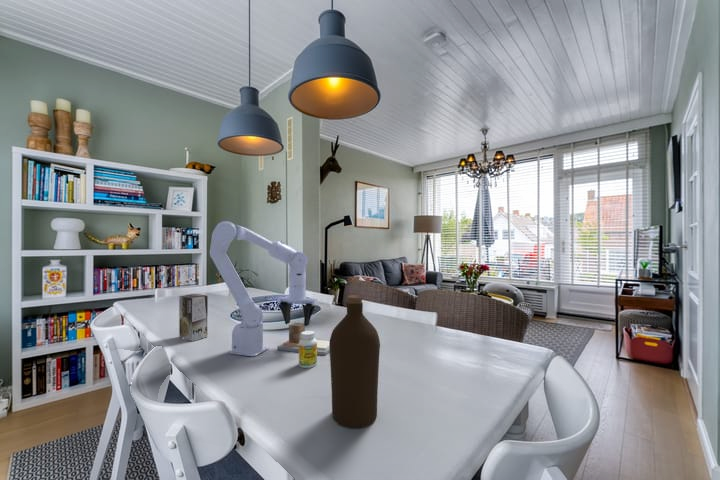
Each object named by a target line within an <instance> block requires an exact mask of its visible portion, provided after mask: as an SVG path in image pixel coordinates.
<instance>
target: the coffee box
mask: <svg viewBox="0 0 720 480" xmlns="http://www.w3.org/2000/svg"><path fill="white" fill-rule="evenodd" d="M178 299H179V301H178V302H179V304H178V306H179V308H178V311H179V313H178V316H179V319H178V321H179V323H178V325H179V328H178V329H179V330H178V331H179V333H178V335H179V337H181V338H180V339H182V338H184V339H183V340H186V339H187V340H186V341H189V340H190V342H195V341H198V339H199V340H202V339H201V338H203V339H206V338H205V337H207V338H208V315H209V314H208V307H209V306H208V305H209V304H208V301H209V300H208V299H209V296H208V294H207V295H206V294H198V293H191V294H185V295H179V296H178ZM179 337H178V338H179ZM194 340H195V341H194Z"/></svg>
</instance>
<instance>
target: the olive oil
mask: <svg viewBox="0 0 720 480" xmlns="http://www.w3.org/2000/svg"><path fill="white" fill-rule="evenodd" d="M346 299H347V302H346V315H345V316H344V317H343V318H342V319H341V320H340V321H339V322H338V324H337V325H336V326H335V327H333V329H332V332H331V334H330V338H329V341H330V343H329V347H330V352H329V362H330V378H331V379H330V382H331V383H330V385H331V386H330V387H331V415H332V419H333V421H334V422H335V423H336V424H337V425H339V426H340V427H341V426H342V427H344V428H347V429H348V428H350V429H361V428H365V427H368V426H370V425H371V424H373V422H375V421H376V419H377V416H378V394H379V393H378V391H379V367H380V353H381V352H380V351H381V350H380V348H381V341H380V336H379V332H378V331H377V329H376V328H375V326H374V325H373V324H372V323H371V322H370V320H369V319H368V318H366V316H365V315H364V314H363V311H364V310H363V309H364V307H363V305H364V303H363V296H362V295H357V294H356V295H354V294H352V295H347V297H346Z"/></svg>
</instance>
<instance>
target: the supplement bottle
mask: <svg viewBox="0 0 720 480" xmlns="http://www.w3.org/2000/svg"><path fill="white" fill-rule="evenodd" d="M315 333H316V332H315V331H314V330H305V331H304V332H302V333H301V338H302V339H301V340H300V341H299V352H298V365H299V366H298V367H300V368H303V369H310V368H311V369H312V368H314V367H315V366H316V365H317V364H318V354H317V340H318V339H316V338H315V336H316V334H315Z"/></svg>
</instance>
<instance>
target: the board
mask: <svg viewBox="0 0 720 480" xmlns="http://www.w3.org/2000/svg"><path fill="white" fill-rule="evenodd" d="M316 340H317V356H318V355H319V356H327V355H329V354H330V347H329V343H330V340H323V339H316ZM276 347H277V348H276V349H277V350H279V351H280V350H281V351H287V352H293V353H294V352H295V353H299V344H298V343H289V339H288V340H286V341H285V342H283V343H281V344H279V345H278V346H276Z"/></svg>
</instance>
